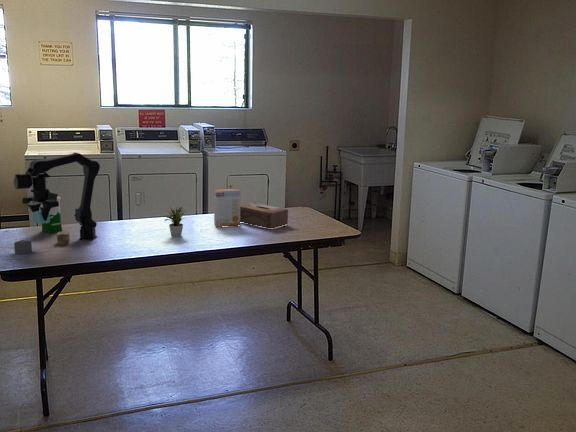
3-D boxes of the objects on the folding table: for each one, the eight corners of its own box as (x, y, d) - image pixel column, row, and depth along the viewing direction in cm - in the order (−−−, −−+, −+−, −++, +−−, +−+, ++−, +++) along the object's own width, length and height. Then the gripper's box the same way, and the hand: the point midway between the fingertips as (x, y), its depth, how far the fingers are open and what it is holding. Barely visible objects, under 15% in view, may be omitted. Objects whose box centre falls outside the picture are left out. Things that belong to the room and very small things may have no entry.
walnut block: (69, 241, 269) (69, 231, 268) (68, 244, 265) (68, 234, 264) (58, 241, 268) (58, 231, 267) (57, 244, 263) (56, 234, 262)
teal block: (49, 221, 259) (49, 211, 258) (40, 223, 255) (39, 213, 254) (42, 220, 262) (42, 210, 261) (33, 222, 257) (32, 211, 256)
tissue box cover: (287, 226, 315) (288, 209, 313) (271, 230, 304) (271, 213, 302) (254, 218, 331) (254, 202, 329) (237, 222, 320) (237, 205, 318)
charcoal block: (32, 251, 251) (31, 241, 250) (24, 254, 247) (23, 243, 246) (22, 250, 253) (21, 239, 251) (14, 253, 248) (14, 242, 247)
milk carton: (54, 228, 293) (51, 191, 288) (65, 230, 288) (62, 193, 284) (39, 231, 286) (36, 193, 281) (50, 234, 281) (47, 195, 277)
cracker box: (237, 224, 315) (238, 188, 311) (240, 226, 310) (241, 190, 305) (213, 225, 310) (213, 189, 306) (216, 228, 305) (216, 191, 300)
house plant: (169, 231, 294) (168, 201, 291) (193, 233, 292) (193, 203, 288) (157, 237, 281) (157, 206, 277) (183, 240, 278) (183, 208, 275)
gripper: (67, 187, 257) (69, 219, 261) (40, 182, 266) (43, 214, 269) (47, 190, 248) (49, 223, 251) (20, 185, 256) (22, 218, 260)
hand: (41, 219), depth 258 cm, fingers closed on teal block, 5 cm apart
